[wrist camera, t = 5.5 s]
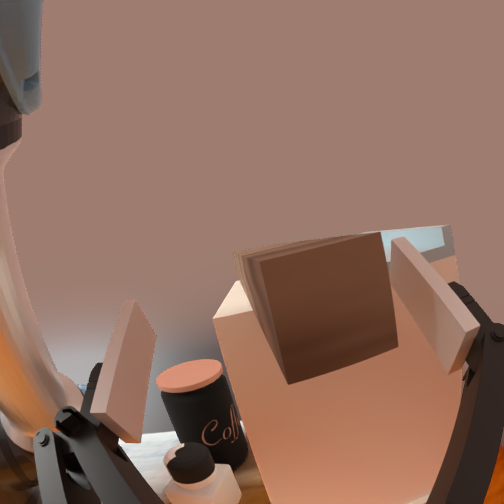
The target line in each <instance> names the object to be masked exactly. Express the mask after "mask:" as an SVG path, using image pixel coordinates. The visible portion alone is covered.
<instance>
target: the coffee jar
mask: <svg viewBox="0 0 504 504" xmlns="http://www.w3.org/2000/svg"><path fill="white" fill-rule="evenodd" d="M222 373H223V368H222V364H221V363H220V362H219V361H217V360H212V359H201V360H194V361H189V362H185V363H182V364H179V365H176V366H173V367H171V368H169V369H167V370H165V371H164V372H162V373H161V374H160V375H159V376H158V377H157V379H156V383H157V385H158V387H159V389H160V390H162V392H161V397H162V399H163V402H164V405H165V407H166V410H167V412H168V415H169V417H170V420H171V422H172V424H173V427H174V429H175V431H176V434H177V436H178V438H179V441H180V443H181V444H183V443H188V442H196V443H200V444H203V445H205V446H206V447H207V448H208V449H209V451H210V454H211V456H212V459H213V461H214V463H215V464H228V465H230V467H231V469H232V471H233V470H235V469H236V468H238V467H239V466H241V464H242V463H243V462H244V461H245V458H246V457H247V454H248V445H247V442H246V439H245V436H244V433H243V430H242V427H241V424H240V421H239V418H238V415H237V412H236V409H235V406H234V402H233V399H232V396H231V393H230V389H229V386H228V383H227V380H226V377H225V376H224V375H222Z"/></svg>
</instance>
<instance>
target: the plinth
mask: <svg viewBox="0 0 504 504" xmlns="http://www.w3.org/2000/svg"><path fill="white" fill-rule="evenodd" d="M429 264H430V265H431V266H432V267H433V268H434V269H435V270H436V271H437V273H438V274H439V275H440V276H441V277H442V278H443V279H444V281H445V282H446V283H450V282H453V281H455V282H456V283H458V284H459V279H458V270H457V262H456V255H453V256H450V257H447V258H444V259H440V260H437V261H434V262H431V263H429ZM389 276H390V275H389ZM391 290H392V297H393V304H394V311H395V319H396V327H397V336H398V346H399V347H397V348H395V349H392V350H390V351H387V352H385V353H382V354H380V355H377V356H375V357H372V358H369V359H367V360H364V361H361V362H359V363H356V364H353V365H350V366H347V367H344V368H342V369H339V370H336V371H333V372H330V373H327V374H324V375H320V376H317V377H314V378H311V379H307V380H304V381H301V382H297V383H294V384H290V385H288V384H287V382H286V380H285V377H284V375H283V373H282V371H281V369H280V367H279V365H278V363H277V361H276V359H275V356H274V354H273V352H272V350H271V348H270V346H269V344H268V341H267V339H266V337H265V335H264V333H263V331H262V329H261V326H260V324H259V322H258V320H257V318H256V316H255V313H254V311H253V309H252V307H251V305H250V303H249V300H248V298H247V296H246V294H245V292H244V289H243V287H242V285H241V283H240V280H239V281H236V282H235V284H234V285H233V287H232V289H231V290H230V292H229V293H228V295H227V296H226V298H225V300H224V301H223V303H222V305H221V306H220V308H219V309H218V311H217V313H216V314H215V316H214V317H213V322H214V326H215V330H216V334H217V337H218V341H219V344H220V348H221V351H222V355H223V358H224V362H225V365H226V369H227V372H228V376H229V379H230V382H231V386H232V389H233V392H234V396H235V399H236V402H237V405H238V409H239V412H240V415H241V418H242V421H243V425H244V428H245V431H246V434H247V437H248V440H249V443H250V446H251V449H252V452H253V455H254V458H255V461H256V464H257V466H258V469H259V472H260V475H261V478H262V481H263V483H264V486H265V489H266V492H267V494H268V497H269V500H270V502H271V504H426V502H427V500H428V497H429V495H430V493H431V490H432V488H433V486H434V483H435V481H436V478H437V476H438V473H439V471H440V468H441V465H442V463H443V460H444V457H445V454H446V451H447V448H448V445H449V442H450V439H451V435H452V432H453V429H454V425H455V422H456V418H457V414H458V410H459V406H460V402H461V392H462V370H463V368H461V369H460V370H458V371H456V372H453V373H451V374H449V375H447V373H446V372H445V370H444V368H443V366H442V365H441V363H440V361H439V360H438V358H437V356H436V354H435V353H434V351H433V349H432V348H431V346H430V344H429V343H428V341H427V340H426V338H425V336H424V335H423V333H422V332H421V330H420V328H419V327H418V325H417V324H416V322H415V320H414V319H413V317H412V316H411V314H410V313H409V311H408V310H407V308H406V307H405V305H404V304H403V302H402V301H401V299H400V298H399V296H398V295H397V293H396V292H395V290H394V289H393V287H392V286H391ZM462 367H463V366H462Z"/></svg>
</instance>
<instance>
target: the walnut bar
mask: <svg viewBox="0 0 504 504" xmlns="http://www.w3.org/2000/svg"><path fill="white" fill-rule="evenodd" d="M233 254H234V258H235V262H236V267H237V270H238V274H239V279H240V283H241V285H242V287H243V289H244V292H245V294H246V296H247V298H248V300H249V303H250V305H251V307H252V309H253V311H254V313H255V316H256V318H257V320H258V322H259V324H260V326H261V329H262V331H263V333H264V335H265V337H266V339H267V341H268V344H269V346H270V348H271V350H272V352H273V354H274V356H275V359H276V361H277V363H278V365H279V367H280V369H281V371H282V373H283V375H284V377H285V380H286V382H287V384H288V385H290V384H294V383H297V382H301V381H304V380H307V379H311V378H314V377H317V376H320V375H324V374H327V373H330V372H333V371H336V370H339V369H342V368H344V367H347V366H350V365H353V364H356V363H359V362H361V361H364V360H367V359H369V358H372V357H375V356H377V355H380V354H382V353H385V352H387V351H390V350H392V349H395V348H397V347H399V346H398V336H397V327H396V319H395V311H394V304H393V297H392V290H391V284H390V278H389V272H388V267H387V261H386V256H385V251H384V246H383V241H382V236H381V232H373V233H365V234H357V235H349V236H340V237H332V238H324V239H317V240H308V241H299V242H292V243H283V244H275V245H267V246H261V247H257V248H253V249H248V250H244V251H240V252H236V253H233Z"/></svg>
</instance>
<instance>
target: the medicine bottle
mask: <svg viewBox="0 0 504 504" xmlns="http://www.w3.org/2000/svg"><path fill="white" fill-rule="evenodd" d="M164 464H165V466H166V468H167V470H168V472H169V474H170V476H171V477H172V480H171V481H170V482H169V484H168V485H167V486H166V488H165V489H164V492H165V494H166V496H167V497H168V499H169V501H170V502H171V504H238V503H239V501H240V499H241V496H242V493H241V491H240V488H239V486H238V484H237V481H236V479H235V477H234V474H233V472H232V469H231V467H230V465H228V464H215V463H214V461H213V459H212V456H211V454H210V451H209V449H208V448H207V447H206V446H205V445H203V444H200V443H196V442H188V443H183V444H179V445H177V446H175V447H173V448H171V449H170V450H169V451H168V452H167V453H166V455H165V457H164Z"/></svg>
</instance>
